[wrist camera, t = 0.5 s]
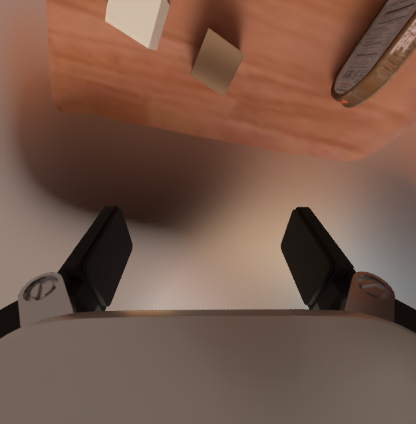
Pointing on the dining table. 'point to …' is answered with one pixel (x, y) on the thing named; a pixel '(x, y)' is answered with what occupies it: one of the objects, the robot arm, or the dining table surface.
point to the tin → (377, 54)
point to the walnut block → (216, 62)
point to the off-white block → (139, 19)
